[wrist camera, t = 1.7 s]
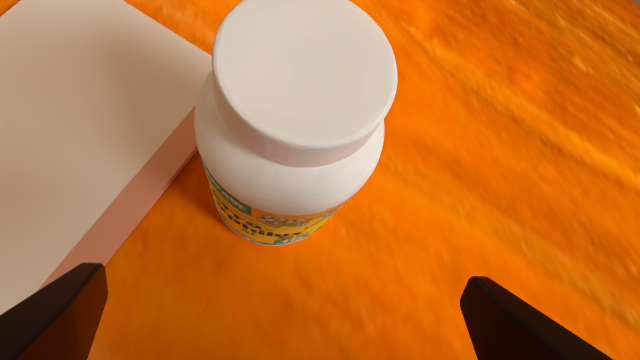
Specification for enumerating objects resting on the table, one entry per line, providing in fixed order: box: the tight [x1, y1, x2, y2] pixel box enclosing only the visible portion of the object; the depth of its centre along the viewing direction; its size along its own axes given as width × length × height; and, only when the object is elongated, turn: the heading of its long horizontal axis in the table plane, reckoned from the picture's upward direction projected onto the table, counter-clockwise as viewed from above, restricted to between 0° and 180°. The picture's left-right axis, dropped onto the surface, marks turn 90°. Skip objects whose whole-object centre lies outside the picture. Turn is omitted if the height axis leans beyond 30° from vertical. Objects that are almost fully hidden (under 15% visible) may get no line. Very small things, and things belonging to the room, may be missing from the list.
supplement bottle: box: [194, 0, 398, 246], centre depth 16 cm, size 7×7×13 cm
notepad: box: [0, 0, 212, 315], centre depth 20 cm, size 22×14×1 cm, turn 148°
